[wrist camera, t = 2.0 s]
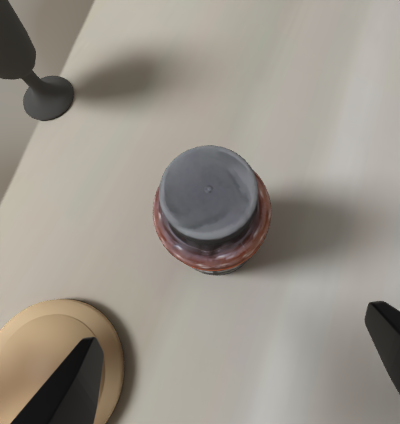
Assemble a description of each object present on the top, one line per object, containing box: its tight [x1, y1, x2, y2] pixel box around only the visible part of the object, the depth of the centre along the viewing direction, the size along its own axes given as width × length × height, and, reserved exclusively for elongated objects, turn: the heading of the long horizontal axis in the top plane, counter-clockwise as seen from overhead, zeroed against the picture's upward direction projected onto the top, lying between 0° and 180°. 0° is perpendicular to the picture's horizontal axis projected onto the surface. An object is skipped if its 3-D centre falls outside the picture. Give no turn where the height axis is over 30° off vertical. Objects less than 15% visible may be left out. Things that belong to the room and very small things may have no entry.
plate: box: [0, 299, 124, 424], centre depth 19 cm, size 10×10×1 cm
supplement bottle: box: [153, 145, 271, 275], centre depth 16 cm, size 6×6×11 cm
